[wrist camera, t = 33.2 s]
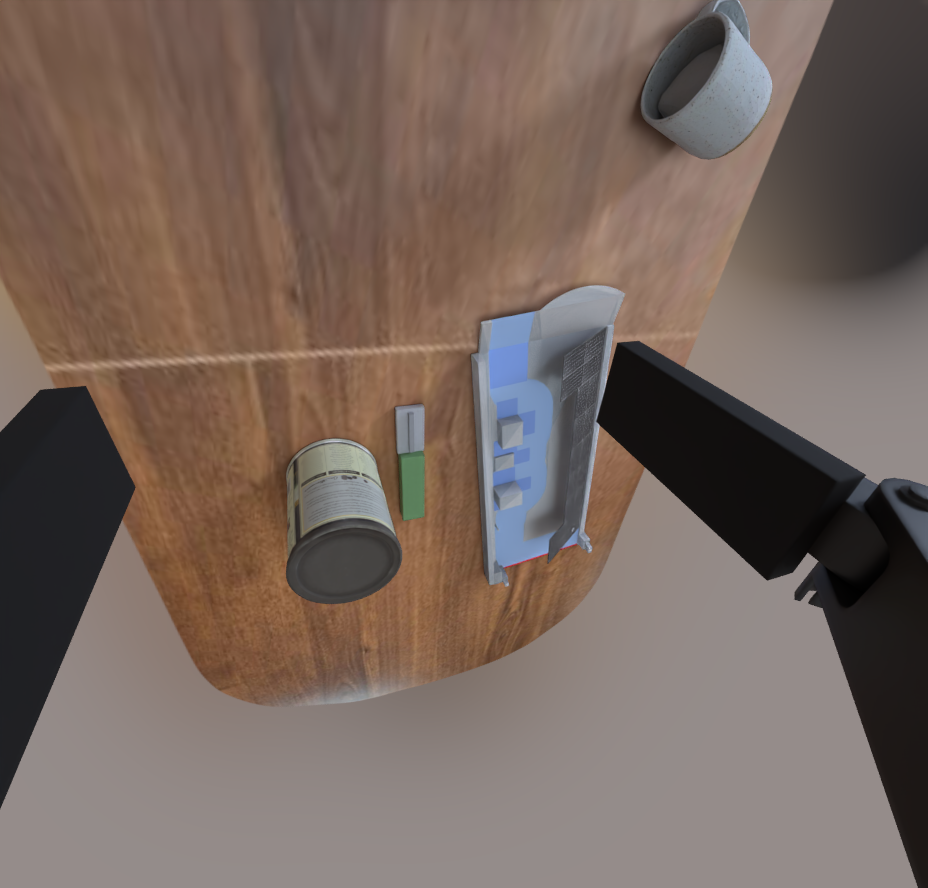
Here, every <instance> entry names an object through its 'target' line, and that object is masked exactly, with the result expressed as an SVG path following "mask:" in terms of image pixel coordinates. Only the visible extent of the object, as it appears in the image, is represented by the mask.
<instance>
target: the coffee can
mask: <svg viewBox="0 0 928 888" xmlns="http://www.w3.org/2000/svg"><path fill="white" fill-rule="evenodd" d="M286 481H287V515H288V561H287V567H286V578H287V581H288V584H289V586H290V587H291V589H292V590H293V591H294V592H295V593H296V594H298V595H299V596H301V597H302V598H304V599H306V600H309V601H312V602H316V603H323V604H340V603H347V602H352V601H355V600H359V599H362V598H364V597H367V596H369V595H371V594H373V593H375V592H377V591H378V590H380V589H381V588H383V587H384V586H385V585H386V584H387V583H389V582H390V581H391V579H392V578H393V577H394V576H395V575H396V573H397V571H398V570H399V568H400V565H401V561H402V550H401V546H400V543H399V541H398V539H397V537H396V533H395V529H394V526H393V522H392V519H391V515H390V512H389V508H388V505H387V502H386V498H385V495H384V491H383V487H382V484H381V480H380V476H379V473H378V470H377V464H376V461H375V458H374V457H373V455H372V454H371V453H370V452H369V451H368V450H367V449H366V448H365V447H363V446H362V445H360V444H358V443H356V442H353V441H351V440H345V439H326V440H321V441H318V442H315V443H312V444H310V445H309V446H307V447H305V448H303V449H302V450H300V451H299V452H298V453H297V454H296V455H295V456H294V457H293V459H292V460H291V462H290V464H289V465H288V469H287V473H286Z"/></svg>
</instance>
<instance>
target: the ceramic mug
mask: <svg viewBox="0 0 928 888" xmlns="http://www.w3.org/2000/svg"><path fill="white" fill-rule="evenodd" d="M749 43H750V32H749V25H748V20H747V17H746V14H745V11H744V9H743V7H742V5H741V3H740V2H739V0H713V1H711V2H710V3H708V4H707V5H706V6H705V7H704V8H703V9H702V10H701V11H700V12H699V14H698V16H697V18H696V19H694V20H693V21H691V22H690V23H689V24H688V25H687V26H685V27H684V28H683V29H682V30H681V31H680V32H679V33H678V34H677V35H676V36H675V37H674V38H673V39H672V41H671V42H670V43H669V44H668V45H667V46H666V48H665V49H664V50H663V52H662V53H661V55H660V56H659V58H658V59H657V61H656V63H655V65H654V66H653V68H652V70H651V72H650V74H649V76H648V78H647V80H646V83H645V86H644V89H643V93H642V97H641V113H642V116H643V118H644V120H645V121H646V122H647V123H648V124H650V125H651V126H652V127H654V128H655V129H657V130H658V131H659V132H661V133H662V134H663V135H665V136H666V137H667V138H669V139H670V140H672V141H673V142H675V143H676V144H678V145H679V146H680V147H681V148H683V149H684V150H685V151H686V152H688V153H689V154H691V155H693V156H696V157H698V158H701V159H708V160H709V159H715V158H719V157H722V156H724V155H726V154H728V153H730V152H732V151H733V150H735V149H736V148H737V147H739V146H740V145H741V144H742V143H743V142H744V141H746V140H747V139H748V138H749V137H750V136H751V135H752V133H753V132H754V131H755V130H756V129H757V127H758V126H759V124H760V123H761V121H762V120H763V118H764V116H765V114H766V112H767V110H768V108H769V105H770V102H771V98H772V91H773V88H772V81H771V78H770V75H769V72H768V70H767V68H766V67H765V65H764V64H763V62H762V61H761V59H760V58H759V57H758V56H757V55H756V54H755V53H754V51H753V50H752V48H751V47H750V46H749Z"/></svg>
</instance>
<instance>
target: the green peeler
mask: <svg viewBox="0 0 928 888" xmlns="http://www.w3.org/2000/svg"><path fill="white" fill-rule="evenodd" d="M395 425H396V450H397V453H398V459H399V486H400V512H401V515H402V519H403V521H406V520H411V519H416V518H421V517H424V454H423V450H424V406H423V404H416V405H407V406H399V407H395Z"/></svg>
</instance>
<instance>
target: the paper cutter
mask: <svg viewBox="0 0 928 888" xmlns="http://www.w3.org/2000/svg"><path fill="white" fill-rule="evenodd" d="M624 296H625V293H623V292H621V291H620V290H617V289H615V288H612V287H608V286H601V285H593V286H585V287H581V288H577V289H574V290H571V291H569V292H567V293H565V294H562V295H561V296H559V297H557V298H556V299H554V300H552V301H551V302H550V303H548V304H547V305H546V306H545V307H543V308H542V309H541V310H540V311H534V312H529V313H524V314H519V315H514V316H509V317H503V318H498V319H493V320H488V321H483V322H481V327H480V337H479V347H478V353H473V354H471V365H472V381H473V397H474V413H475V429H476V446H477V462H478V478H479V494H480V511H481V527H482V543H483V559H484V574H485V576H486V579H487V581H488V583H489V585H492V584H498V583H501V582H503V583H504V585H505V587H506V586H508V585H509V583H508V581H507V580H508V576H507V574H506V572H505V570H504V568H507V567H510V566H513V565H516V564H519V563H522V562H525V561H528V560H532V559H535V558H538V557H541V556H544V555H547V554H548V563H549V562H550V561H551V560H552V559H553V557H554V556H555V555H556V554H557V553H558V552H559V550H562V549H565V548H568V547H571V546H574V545H580V546H581V548H582V549H583V550H584V549H586V551H587V552H588V553H590V552H591V551H592V546H591V545H590V539H589V537H588V536H587V535H586V533H585V532H584V527H585V520H586V513H587V507H588V500H589V493H590V486H591V480H592V473H593V466H594V459H595V453H596V446H597V439H598V432H599V426H600V425H599V424H598V423H597V422H596V420H597V417H598V413H599V409H600V406H601V402H602V398H603V394H604V391H605V385H606V379H607V372H608V365H609V358H610V352H611V345H612V338H613V331H614V325H613V322H614V320H615V318H616V315H617V313H618V311H619V308H620V306H621V303H622V301H623V299H624ZM548 563H547V564H548Z"/></svg>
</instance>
